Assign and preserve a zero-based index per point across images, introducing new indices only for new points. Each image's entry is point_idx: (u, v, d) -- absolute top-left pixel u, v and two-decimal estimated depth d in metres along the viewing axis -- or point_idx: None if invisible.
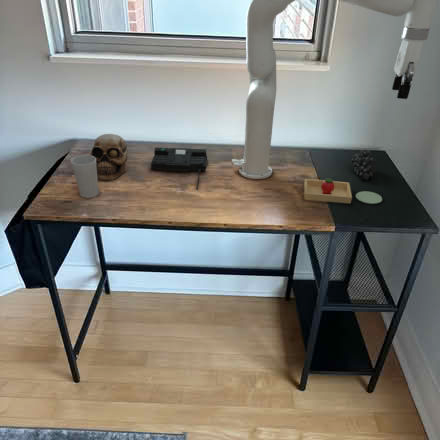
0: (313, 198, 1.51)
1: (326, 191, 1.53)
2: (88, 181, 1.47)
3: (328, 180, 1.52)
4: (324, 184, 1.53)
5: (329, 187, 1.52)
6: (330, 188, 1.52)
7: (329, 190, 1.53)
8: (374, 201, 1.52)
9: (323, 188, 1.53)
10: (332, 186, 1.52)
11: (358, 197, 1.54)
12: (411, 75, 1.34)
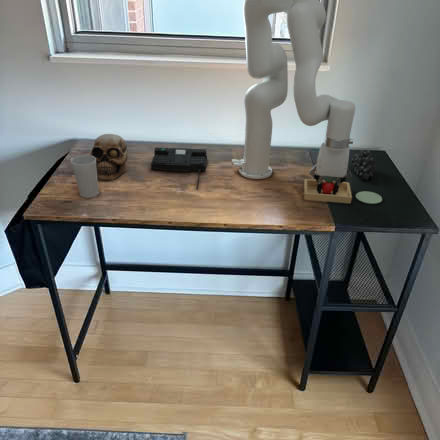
0: (313, 198, 1.51)
1: (326, 191, 1.53)
2: (88, 181, 1.47)
3: (328, 180, 1.52)
4: (324, 184, 1.53)
5: (329, 187, 1.52)
6: (330, 188, 1.52)
7: (329, 190, 1.53)
8: (374, 201, 1.52)
9: (323, 188, 1.53)
10: (332, 186, 1.52)
11: (358, 197, 1.54)
12: None
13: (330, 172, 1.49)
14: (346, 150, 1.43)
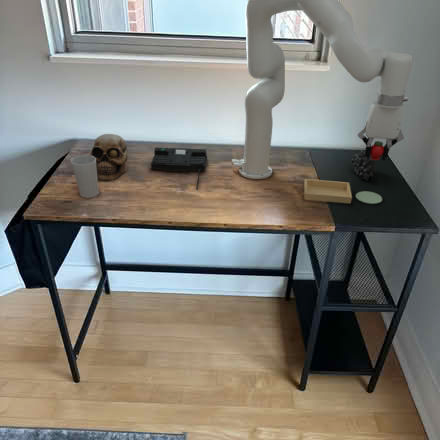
0: (313, 198, 1.51)
1: (375, 155, 1.43)
2: (88, 181, 1.47)
3: (378, 143, 1.42)
4: (374, 148, 1.42)
5: (379, 150, 1.42)
6: (380, 151, 1.42)
7: (379, 154, 1.43)
8: (374, 201, 1.52)
9: (372, 152, 1.43)
10: (382, 149, 1.42)
11: (358, 197, 1.54)
12: None
13: (381, 133, 1.39)
14: (400, 108, 1.33)
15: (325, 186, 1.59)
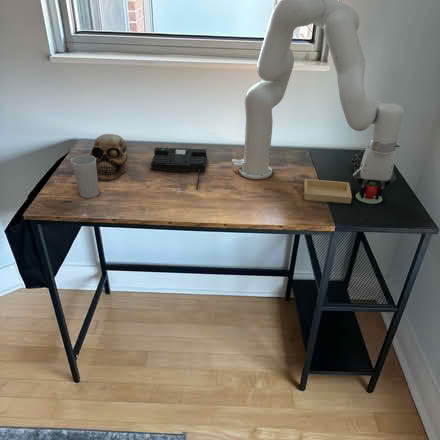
0: (313, 198, 1.51)
1: (369, 195, 1.52)
2: (88, 181, 1.47)
3: (372, 184, 1.51)
4: (368, 188, 1.51)
5: (373, 191, 1.51)
6: (374, 192, 1.51)
7: (373, 194, 1.51)
8: (374, 201, 1.52)
9: (366, 192, 1.52)
10: (376, 190, 1.51)
11: (358, 197, 1.54)
12: None
13: (375, 176, 1.47)
14: (392, 153, 1.42)
15: (325, 186, 1.59)
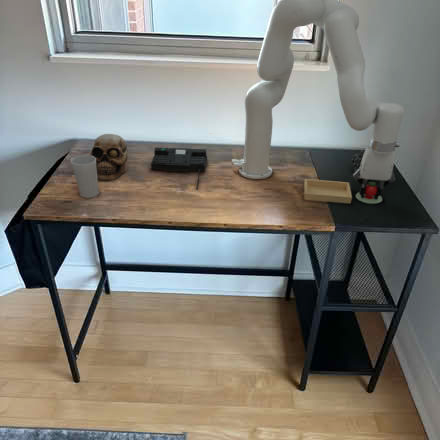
0: (313, 198, 1.51)
1: (369, 195, 1.52)
2: (88, 181, 1.47)
3: (371, 184, 1.51)
4: (368, 188, 1.51)
5: (372, 191, 1.51)
6: (373, 192, 1.51)
7: (372, 194, 1.51)
8: (374, 201, 1.52)
9: (366, 192, 1.52)
10: (375, 190, 1.51)
11: (358, 197, 1.54)
12: None
13: (374, 175, 1.47)
14: (392, 153, 1.42)
15: (325, 186, 1.59)
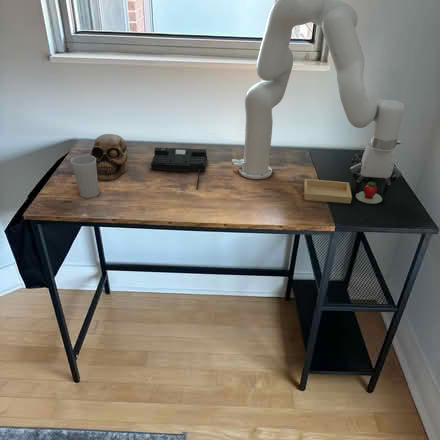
0: (313, 198, 1.51)
1: (369, 195, 1.52)
2: (88, 181, 1.47)
3: (371, 183, 1.51)
4: (367, 188, 1.51)
5: (372, 191, 1.51)
6: (373, 192, 1.51)
7: (372, 194, 1.51)
8: (374, 201, 1.52)
9: (366, 192, 1.52)
10: (375, 190, 1.51)
11: (358, 197, 1.54)
12: (350, 170, 1.49)
13: (375, 173, 1.47)
14: (393, 151, 1.42)
15: (325, 186, 1.59)
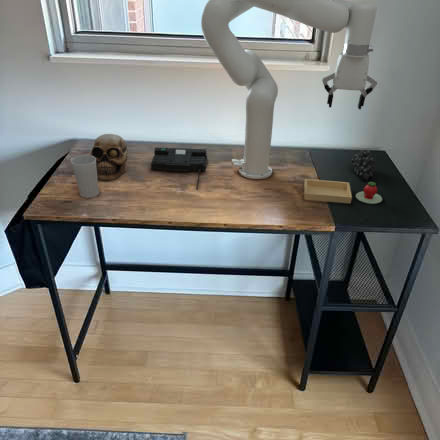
0: (313, 198, 1.51)
1: (369, 195, 1.52)
2: (88, 181, 1.47)
3: (371, 183, 1.51)
4: (367, 188, 1.51)
5: (372, 191, 1.51)
6: (373, 192, 1.51)
7: (372, 194, 1.51)
8: (374, 201, 1.52)
9: (366, 192, 1.52)
10: (375, 190, 1.51)
11: (358, 197, 1.54)
12: None
13: (348, 84, 1.42)
14: (366, 58, 1.37)
15: (325, 186, 1.59)
